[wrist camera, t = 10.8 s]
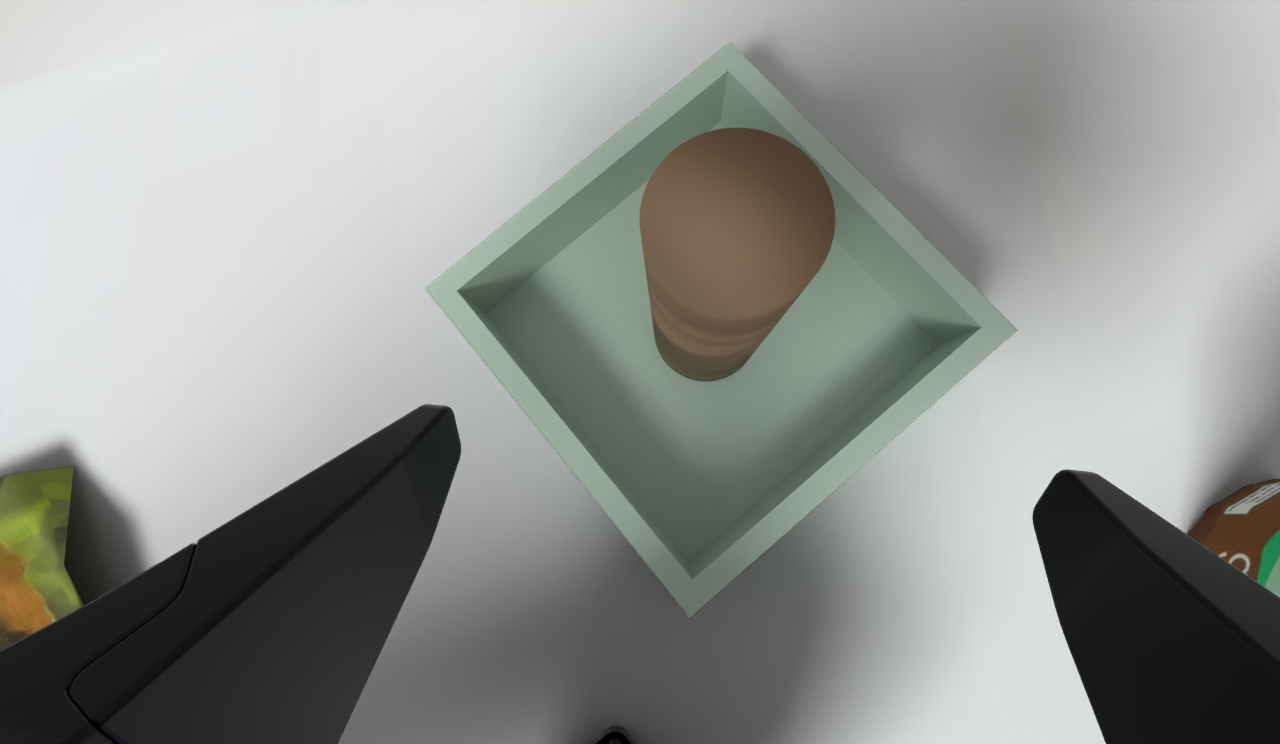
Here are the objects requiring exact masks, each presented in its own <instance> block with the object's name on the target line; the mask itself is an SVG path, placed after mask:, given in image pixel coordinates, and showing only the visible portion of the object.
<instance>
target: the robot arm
mask: <svg viewBox="0 0 1280 744" xmlns="http://www.w3.org/2000/svg"><path fill="white" fill-rule="evenodd" d="M460 454H461V443H460V439H459V434H458V430H457V425H456V421H455V417H454V413H453V411H452V409H451V408H450V407H448V406H442V405H432V404H425V405H422V406H420V407H418V408H417V409H415V410H413V411H412V412H410V413H408V414H407V415H405V416H403V417H402V418H400V419H398V420H397V421H395V422H393V423H392V424H390V425H388V426H387V427H385V428H383V429H382V430H380V431H378V432H377V433H375V434H373V435H372V436H370V437H368V438H367V439H365V440H363V441H362V442H360V443H358V444H357V445H355V446H353V447H352V448H350V449H348V450H347V451H345V452H343V453H342V454H340V455H338V456H337V457H335V458H333V459H332V460H330V461H328V462H327V463H325V464H323V465H322V466H320V467H319V468H317V469H315V470H314V471H312V472H310V473H309V474H307V475H305V476H304V477H302V478H300V479H299V480H297V481H295V482H294V483H292V484H290V485H289V486H287V487H285V488H284V489H282V490H280V491H279V492H277V493H275V494H274V495H272V496H270V497H269V498H267V499H265V500H264V501H262V502H260V503H259V504H257V505H255V506H254V507H252V508H250V509H249V510H247V511H245V512H244V513H242V514H240V515H239V516H237V517H235V518H234V519H232V520H230V521H229V522H227V523H225V524H224V525H222V526H220V527H219V528H217V529H215V530H214V531H212V532H210V533H209V534H207V535H205V536H204V537H202V538H200V539H199V540H198V542H197V544H194V543H193V544H190V545H188V546H187V547H185V548H183V549H182V550H180V551H178V552H177V553H175V554H173V555H172V556H170V557H168V558H167V559H165V560H163V561H162V562H160V563H158V564H157V565H155V566H153V567H151V568H150V569H148V570H146V571H144V572H143V573H141V574H139V575H138V576H136V577H134V578H132V579H131V580H129V581H127V582H126V583H124V584H122V585H120V586H119V587H117V588H115V589H113V590H112V591H110V592H108V593H106V594H104V595H102V596H101V597H99V598H97V599H95V600H93V601H91V602H90V603H88V604H86V605H84V606H82V607H80V608H79V609H77V610H75V611H73V612H71V613H69V614H68V615H66V616H64V617H62V618H60V619H58V620H56V621H55V622H53V623H51V624H49V625H47V626H45V627H43V628H41V629H39V630H38V631H36V632H34V633H32V634H30V635H28V636H26V637H24V638H22V639H20V640H19V641H17V642H15V643H13V644H11V645H9V646H7V647H5V648H3V649H2V650H0V744H338V741H339V739H340V737H341V735H342V733H343V731H344V729H345V727H346V724H347V722H348V720H349V718H350V716H351V714H352V712H353V709H354V707H355V705H356V703H357V701H358V699H359V697H360V695H361V692H362V690H363V688H364V686H365V684H366V682H367V680H368V677H369V675H370V673H371V671H372V669H373V667H374V665H375V662H376V660H377V658H378V656H379V654H380V652H381V650H382V648H383V645H384V643H385V641H386V639H387V637H388V635H389V633H390V630H391V628H392V626H393V624H394V622H395V620H396V618H397V615H398V613H399V611H400V609H401V607H402V605H403V603H404V601H405V598H406V596H407V594H408V592H409V590H410V588H411V586H412V583H413V581H414V579H415V577H416V575H417V573H418V571H419V568H420V566H421V564H422V562H423V560H424V558H425V555H426V553H427V551H428V549H429V546H430V544H431V541H432V539H433V536H434V533H435V530H436V528H437V525H438V522H439V519H440V516H441V513H442V510H443V507H444V504H445V501H446V498H447V495H448V492H449V489H450V486H451V483H452V480H453V477H454V474H455V471H456V468H457V465H458V462H459V459H460ZM1033 525H1034V529H1035V533H1036V537H1037V540H1038V544H1039V548H1040V552H1041V556H1042V559H1043V563H1044V567H1045V571H1046V574H1047V578H1048V582H1049V586H1050V589H1051V593H1052V597H1053V601H1054V605H1055V608H1056V611H1057V615H1058V618H1059V621H1060V624H1061V627H1062V630H1063V633H1064V636H1065V639H1066V641H1067V644H1068V647H1069V649H1070V652H1071V654H1072V657H1073V659H1074V662H1075V665H1076V667H1077V670H1078V672H1079V675H1080V678H1081V680H1082V683H1083V685H1084V688H1085V691H1086V693H1087V696H1088V698H1089V701H1090V704H1091V706H1092V709H1093V711H1094V714H1095V716H1096V719H1097V722H1098V724H1099V727H1100V729H1101V732H1102V735H1103V737H1104V740H1105V742H1106V744H1280V597H1278V596H1277V595H1275V594H1274V593H1273V592H1271V591H1270V590H1268V589H1267V588H1265V587H1264V586H1262V585H1261V584H1259V583H1258V582H1256V581H1255V580H1253V579H1252V578H1250V577H1249V576H1247V575H1246V574H1244V573H1243V572H1241V571H1240V570H1239V569H1237V568H1236V567H1234V566H1233V565H1231V564H1230V563H1228V562H1227V561H1225V560H1224V559H1222V558H1221V557H1219V556H1218V555H1216V554H1215V553H1213V552H1212V551H1210V550H1209V549H1207V548H1206V547H1205V546H1203V545H1202V544H1200V543H1199V542H1197V541H1196V540H1194V539H1193V538H1191V537H1190V536H1188V535H1187V534H1185V533H1184V532H1182V531H1181V530H1179V529H1178V528H1176V527H1175V526H1174V525H1172V524H1171V523H1169V522H1168V521H1166V520H1165V519H1163V518H1162V517H1160V516H1159V515H1157V514H1156V513H1154V512H1153V511H1151V510H1150V509H1148V508H1147V507H1145V506H1144V505H1142V504H1141V503H1140V502H1138V501H1137V500H1135V499H1134V498H1132V497H1131V496H1129V495H1128V494H1126V493H1125V492H1123V491H1122V490H1120V489H1119V488H1117V487H1116V486H1114V485H1113V484H1111V483H1110V482H1109V481H1107V480H1106V479H1104V478H1103V477H1101V476H1099V475H1098V474H1095V473H1092V472H1086V471H1076V470H1062V471H1060V472H1058V473H1057V474H1056V475H1055V476H1054V477H1053V479H1052V480H1051V482H1050V484H1049V485H1048V487H1047V488H1046V490H1045V491H1044V493H1043V494H1042V496H1041V497H1040V499H1039V501H1038V502H1037V504H1036V505H1035V507H1034V511H1033ZM612 739H618V740H619V741H621V743H622V744H636V743H635V741H634V740H633V739H632V738H631V736H630V735H629V734H628V732H627V731H626V730H625V729H624V728H622V727H619V726H612V727H610V728H609V729H607V730H606V731H605V732H604V733H603V734H601V735H600V736H599V737H598V738H597V739H596V740H595V741H593V742H592V743H591V744H610V743H609V742H610V740H612Z"/></svg>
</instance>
